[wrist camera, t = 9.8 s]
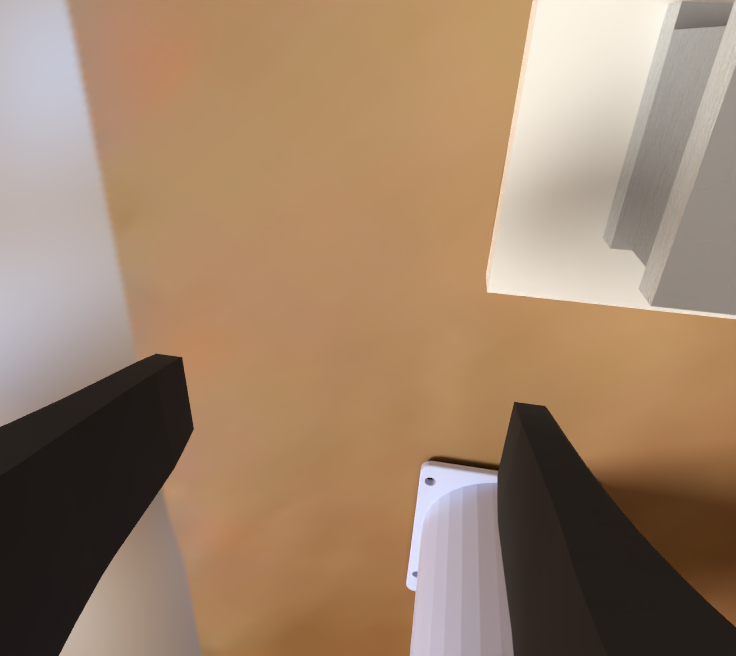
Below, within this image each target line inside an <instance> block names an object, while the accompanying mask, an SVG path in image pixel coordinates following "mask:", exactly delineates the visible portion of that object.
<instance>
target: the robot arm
mask: <svg viewBox="0 0 736 656" xmlns="http://www.w3.org/2000/svg"><path fill="white" fill-rule="evenodd" d="M193 429H194V428H193V422H192V415H191V409H190V403H189V397H188V391H187V385H186V379H185V373H184V367H183V361H182V357H176V356H169V355H161V354H155V355H152V356H150V357H147V358H145V359H143V360H141V361H138V362H136V363H134V364H132V365H130V366H128V367H126V368H124V369H122V370H120V371H118V372H116V373H114V374H112V375H110V376H108V377H106V378H104V379H102V380H100V381H98V382H96V383H94V384H92V385H89V386H87V387H85V388H83V389H81V390H80V391H77V392H75V393H73V394H71V395H69V396H67V397H65V398H63V399H61V400H59V401H57V402H55V403H52V404H50V405H48V406H46V407H44V408H42V409H39V410H37V411H35V412H33V413H30V414H28V415H26V416H24V417H22V418H19V419H17V420H15V421H13V422H11V423H8V424H6V425H4V426H1V427H0V656H59V654H60V652H61V650H62V648H63V646H64V644H65V643H66V641H67V639H68V637H69V635H70V633H71V631H72V629H73V627H74V625H75V623H76V621H77V619H78V618H79V616H80V614H81V612H82V611H83V609H84V607H85V605H86V603H87V601H88V600H89V598H90V596H91V594H92V593H93V591H94V589H95V587H96V585H97V583H98V582H99V580H100V578H101V576H102V575H103V573H104V572H105V570H106V568H107V567H108V565H109V564H110V562H111V561H112V559H113V557H114V556H115V554H116V553H117V551H118V550H119V548H120V547H121V546H122V544H123V543H124V541H125V540H126V538H127V537H128V535H129V534H130V532H131V531H132V530H133V528H134V527H135V525H136V524H137V522H138V521H139V520H140V518H141V516H142V515H143V514H144V512H145V511H146V509H147V508H148V506H149V505H150V504H151V502H152V501H153V499H154V498H155V496H156V495H157V493H158V492H159V490H160V489H161V487H162V486H163V484H164V483H165V481H166V480H167V478H168V477H169V475H170V474H171V472H172V471H173V469H174V468H175V466H176V464H177V462H178V460H179V458H180V456H181V454H182V452H183V450H184V448H185V446H186V444H187V442H188V440H189V438H190V436H191V434H192V432H193ZM427 478H433V480H430V479H427ZM406 584H407V587H408V588H409V589H411V590H413V591H416V595H415V606H414V617H413V628H412V638H411V649H410V656H736V627H735V626H734V625H732V624H731V623H730V622H729V621H728V620H727V619H726V618H725V617H724V616H723V615H721V614H720V613H719V612H718V611H717V610H716V609H715V608H714V607H713V606H712V605H711V604H709V603H708V602H707V601H706V600H705V599H704V598H703V597H702V596H701V595H700V594H699V593H698V592H697V591H696V590H695V589H694V588H693V587H692V586H691V585H690V584H688V583H687V582H686V581H685V580H684V579H683V578H682V577H681V576H680V574H679V573H678V572H677V571H676V570H675V569H674V568H673V567H672V566H671V565H670V564H669V563H668V562H667V561H666V560H665V559H664V558H663V557H662V556H661V555H660V554H659V553H658V552H657V551H656V550H655V549H654V548H653V547H652V545H651V544H650V543H649V542H648V541H647V540H646V539H645V538H644V537H643V536H642V534H641V533H640V532H639V531H638V530H637V529H636V528H635V526H634V525H633V524H632V523H631V522H630V520H629V519H628V518H627V517H626V516H625V515H624V513H623V512H622V511H621V510H620V509H619V507H618V506H617V505H616V504H615V502H614V501H613V500H612V499H611V497H610V496H609V495H608V494H607V492H606V491H605V490H604V488H603V487H602V486H601V484H600V483H599V482H598V480H597V479H596V478H595V476H594V475H593V474H592V472H591V471H590V470H589V468H588V467H587V466H586V464H585V463H584V462H583V460H582V459H581V457H580V456H579V455H578V453H577V452H576V450H575V449H574V447H573V446H572V444H571V443H570V442H569V440H568V439H567V437H566V436H565V434H564V433H563V431H562V430H561V428H560V427H559V425H558V424H557V422H556V421H555V419H554V418H553V416H552V415H551V413H550V412H549V410H548V409H547V408H546V407H545V406H540V405H533V404H525V403H518V402H514V406H513V410H512V414H511V419H510V423H509V427H508V432H507V436H506V440H505V444H504V449H503V453H502V457H501V462H500V466H499V470H498V471H496V470H489V469H483V468H476V467H469V466H463V465H456V464H450V463H443V462H436V461H427V462H425V463H423V464H422V466H421V473H420V480H419V488H418V496H417V504H416V512H415V519H414V527H413V535H412V543H411V550H410V558H409V566H408V574H407V582H406Z"/></svg>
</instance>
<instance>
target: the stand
mask: <svg viewBox="0 0 736 656" xmlns="http://www.w3.org/2000/svg"><path fill="white" fill-rule="evenodd" d="M681 1H687V2H717V3H734V1H735V0H533V2H532V8H531V14H530V20H529V26H528V32H527V37H526V43H525V49H524V55H523V61H522V67H521V73H520V78H519V84H518V90H517V96H516V102H515V108H514V114H513V120H512V125H511V131H510V137H509V143H508V149H507V155H506V161H505V166H504V172H503V178H502V184H501V190H500V196H499V202H498V207H497V213H496V219H495V225H494V231H493V237H492V243H491V248H490V254H489V260H488V266H487V272H486V283H487V292H491V293H500V294H510V295H519V296H528V297H537V298H546V299H556V300H565V301H574V302H583V303H592V304H601V305H611V306H620V307H629V308H638V309H647V310H657V311H666V312H675V313H684V314H693V315H702V316H712V317H721V318H730V319H736V315H729V314H719V313H710V312H700V311H691V310H681V309H672V308H662V307H653V306H650V304H649V303H648V302H647V300H646V299H645V297H644V296H643V294H642V293H641V292H640V290H639V286H640V283H641V280H642V277H643V274H644V271H645V268H646V267H645V266H644V264H643V263H642V262H641V261H640V259H639V258H638V257H637V256H636V254H635V253H634V252H633V251H632V250H621V249H610V247H609V246H608V245H607V243H606V242H605V240H604V239H603V235H604V231H605V228H606V224H607V221H608V217H609V214H610V210H611V206H612V203H613V199H614V196H615V192H616V188H617V185H618V181H619V178H620V174H621V171H622V167H623V163H624V160H625V156H626V153H627V149H628V146H629V142H630V138H631V135H632V131H633V128H634V124H635V120H636V117H637V113H638V110H639V106H640V103H641V99H642V95H643V92H644V88H645V85H646V81H647V78H648V74H649V70H650V67H651V63H652V60H653V56H654V52H655V49H656V45H657V42H658V38H659V35H660V31H661V27H662V24H663V20H664V17H665V13H666V10H667V6H668V4H671V3H676V2H681Z"/></svg>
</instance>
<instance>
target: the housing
mask: <svg viewBox="0 0 736 656" xmlns="http://www.w3.org/2000/svg"><path fill="white" fill-rule="evenodd" d="M603 239H604V240H605V242H606V243H607V245H608V246H609V247H610V249H621V250H632V251H633V252H634V253H635V254H636V256H637V257H638V258H639V259H640V261H641V262H642V263H643V264H644V266H645V267H646V268H645V271H644V274H643V277H642V280H641V283H640V286H639V290H640V292H641V293H642V294H643V296H644V297H645V299H646V300H647V302H648V303H649V304H650V306H653V307H662V308H672V309H681V310H691V311H700V312H710V313H719V314H729V315H736V0H735V1H734V3H717V2H687V1H681V2H676V3H671V4H668V6H667V10H666V13H665V17H664V20H663V24H662V27H661V31H660V35H659V38H658V42H657V45H656V49H655V52H654V56H653V60H652V63H651V67H650V70H649V74H648V78H647V81H646V85H645V88H644V92H643V95H642V99H641V103H640V106H639V110H638V113H637V117H636V120H635V124H634V128H633V131H632V135H631V138H630V142H629V146H628V149H627V153H626V156H625V160H624V163H623V167H622V171H621V174H620V178H619V181H618V185H617V188H616V192H615V196H614V199H613V203H612V206H611V210H610V214H609V217H608V221H607V224H606V228H605V231H604V235H603Z"/></svg>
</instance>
